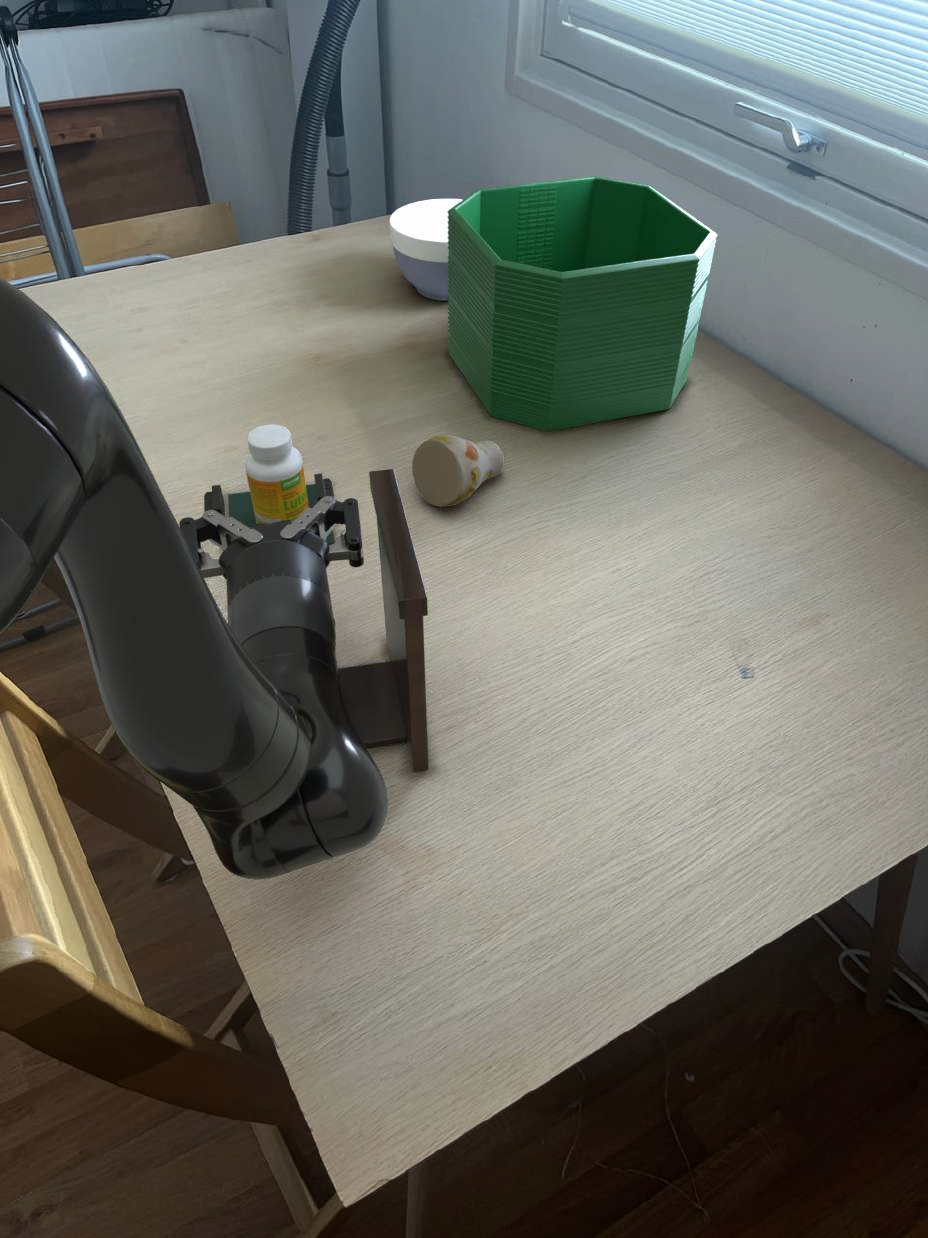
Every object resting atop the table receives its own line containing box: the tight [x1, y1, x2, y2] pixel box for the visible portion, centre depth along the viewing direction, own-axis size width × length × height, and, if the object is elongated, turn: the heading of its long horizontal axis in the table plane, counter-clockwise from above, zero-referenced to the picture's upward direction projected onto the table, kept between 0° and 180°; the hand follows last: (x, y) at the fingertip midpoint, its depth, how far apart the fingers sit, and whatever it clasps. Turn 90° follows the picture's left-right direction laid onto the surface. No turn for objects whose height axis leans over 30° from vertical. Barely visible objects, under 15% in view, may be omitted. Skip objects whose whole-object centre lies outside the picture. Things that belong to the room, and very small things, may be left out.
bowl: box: [388, 198, 464, 302], centre depth 124 cm, size 16×16×10 cm
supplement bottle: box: [244, 424, 309, 524], centre depth 84 cm, size 5×5×10 cm
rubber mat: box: [227, 483, 336, 545], centre depth 88 cm, size 10×10×1 cm
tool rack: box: [338, 468, 429, 773], centre depth 64 cm, size 15×14×18 cm
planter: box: [447, 176, 718, 432], centre depth 104 cm, size 26×26×18 cm
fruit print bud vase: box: [411, 434, 505, 507], centre depth 90 cm, size 8×10×10 cm
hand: (268, 487), depth 75 cm, fingers open, 8 cm apart
